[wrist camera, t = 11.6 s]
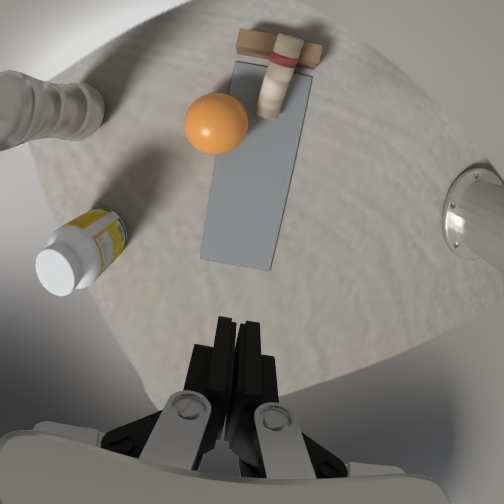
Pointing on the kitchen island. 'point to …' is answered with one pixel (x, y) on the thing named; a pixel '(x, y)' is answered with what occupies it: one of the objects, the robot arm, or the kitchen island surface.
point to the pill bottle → (81, 251)
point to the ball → (216, 123)
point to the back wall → (264, 44)
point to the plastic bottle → (46, 110)
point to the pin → (278, 75)
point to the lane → (254, 176)
